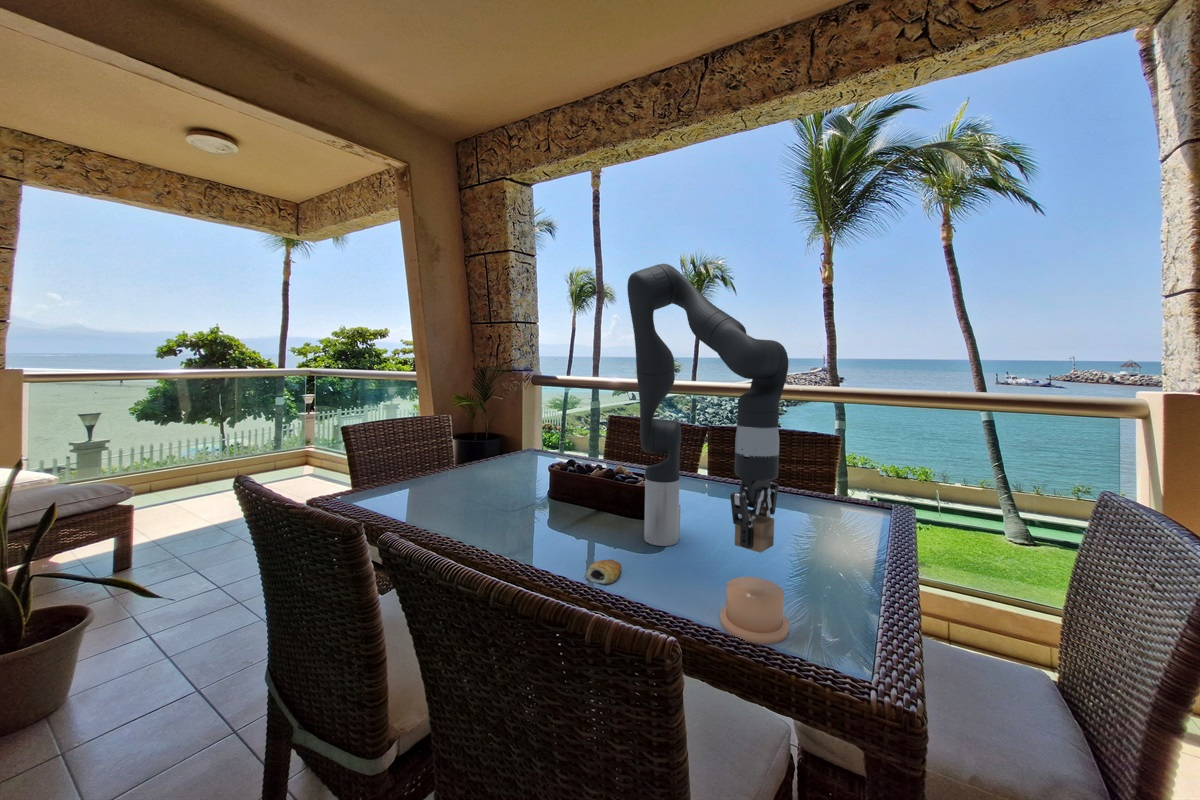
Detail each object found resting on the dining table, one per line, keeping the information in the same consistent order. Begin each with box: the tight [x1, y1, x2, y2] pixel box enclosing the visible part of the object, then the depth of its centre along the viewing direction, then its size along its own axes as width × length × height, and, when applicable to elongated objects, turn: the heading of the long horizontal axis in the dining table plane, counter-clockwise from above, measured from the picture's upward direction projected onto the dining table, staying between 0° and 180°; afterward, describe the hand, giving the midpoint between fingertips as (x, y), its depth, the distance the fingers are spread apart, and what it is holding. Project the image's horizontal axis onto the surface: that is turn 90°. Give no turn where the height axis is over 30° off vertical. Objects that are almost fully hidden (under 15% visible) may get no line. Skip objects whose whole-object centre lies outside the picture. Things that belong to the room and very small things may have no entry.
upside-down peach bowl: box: [719, 576, 790, 645], centre depth 87 cm, size 12×12×7 cm
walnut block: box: [734, 514, 775, 554], centre depth 86 cm, size 5×5×5 cm
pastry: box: [585, 559, 622, 585], centre depth 107 cm, size 9×7×4 cm
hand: (754, 542), depth 86 cm, fingers closed on walnut block, 5 cm apart
